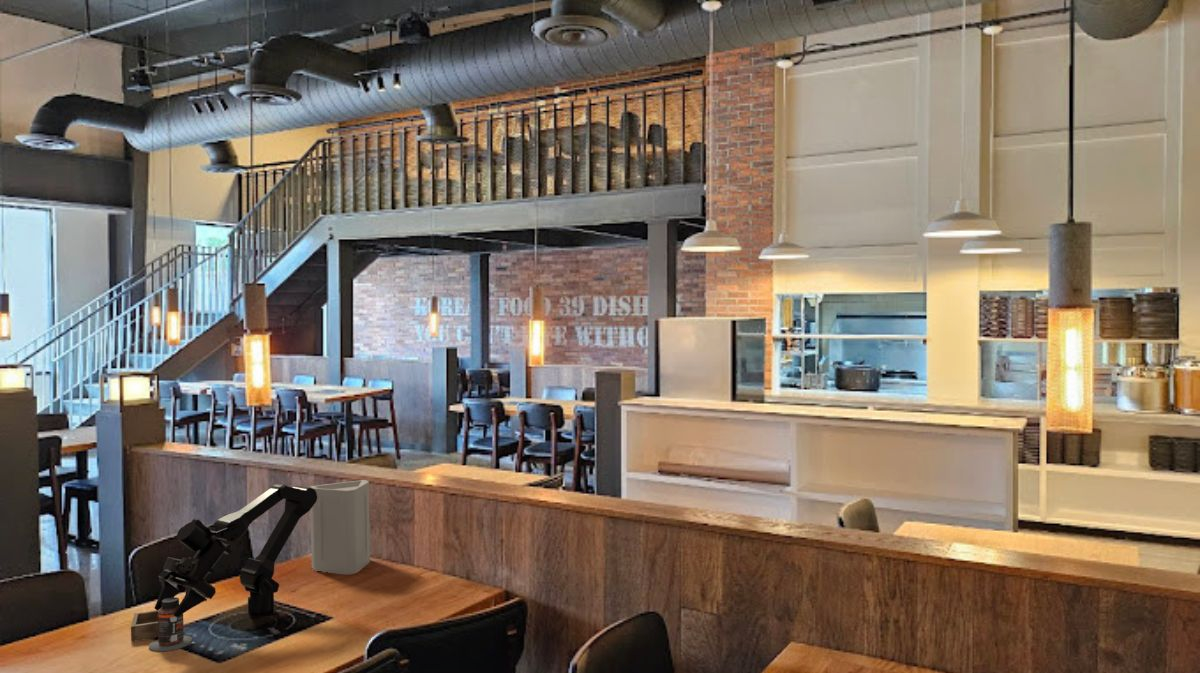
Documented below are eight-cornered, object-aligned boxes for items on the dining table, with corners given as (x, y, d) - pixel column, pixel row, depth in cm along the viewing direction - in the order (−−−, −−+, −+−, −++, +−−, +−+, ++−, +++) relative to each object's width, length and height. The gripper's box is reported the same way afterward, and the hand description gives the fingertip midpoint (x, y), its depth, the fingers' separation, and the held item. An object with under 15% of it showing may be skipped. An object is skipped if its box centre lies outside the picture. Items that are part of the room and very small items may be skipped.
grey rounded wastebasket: (322, 579, 269) (321, 493, 268) (311, 567, 282) (309, 486, 281) (380, 568, 280) (378, 486, 279) (366, 558, 292) (365, 479, 291)
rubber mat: (192, 634, 223) (192, 632, 223) (191, 647, 214) (191, 646, 214) (150, 640, 219) (150, 639, 219) (147, 654, 210) (147, 653, 210)
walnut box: (179, 621, 233) (179, 607, 233) (177, 634, 223) (177, 619, 223) (134, 627, 228) (134, 613, 228) (131, 641, 218) (130, 626, 218)
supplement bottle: (181, 645, 214) (180, 602, 214) (155, 648, 213) (154, 604, 213) (186, 636, 220) (185, 594, 220) (161, 639, 219) (160, 597, 218)
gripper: (164, 539, 224) (123, 591, 215) (203, 549, 214) (162, 604, 205) (193, 560, 231) (154, 611, 222) (232, 571, 221) (193, 625, 212)
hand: (165, 612), depth 215 cm, fingers open, 9 cm apart
